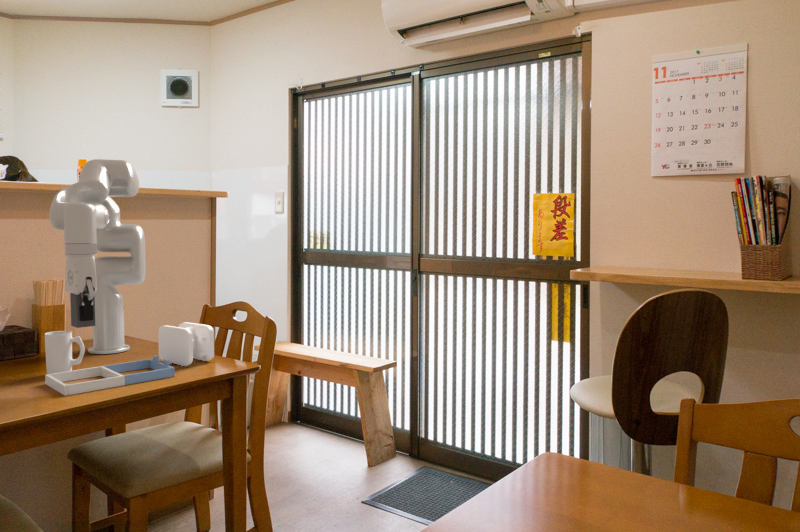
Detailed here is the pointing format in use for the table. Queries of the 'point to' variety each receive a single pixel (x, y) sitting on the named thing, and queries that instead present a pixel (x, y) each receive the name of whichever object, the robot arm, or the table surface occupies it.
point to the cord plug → (76, 313)
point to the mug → (61, 351)
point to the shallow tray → (109, 376)
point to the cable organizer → (186, 343)
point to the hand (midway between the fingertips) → (83, 318)
